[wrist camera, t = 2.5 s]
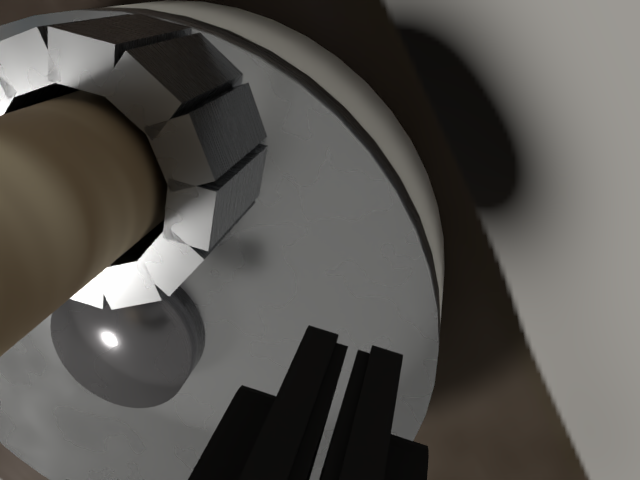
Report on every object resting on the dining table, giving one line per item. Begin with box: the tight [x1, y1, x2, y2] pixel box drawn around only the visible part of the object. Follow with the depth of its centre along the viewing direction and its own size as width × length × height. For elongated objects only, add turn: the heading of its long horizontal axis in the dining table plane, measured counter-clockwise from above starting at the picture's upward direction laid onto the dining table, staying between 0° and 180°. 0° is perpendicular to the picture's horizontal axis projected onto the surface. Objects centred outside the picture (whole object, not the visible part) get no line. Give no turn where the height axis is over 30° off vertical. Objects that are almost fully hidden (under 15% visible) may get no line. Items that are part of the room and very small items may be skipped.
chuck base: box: [111, 0, 445, 323], centre depth 24 cm, size 21×21×4 cm
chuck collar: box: [0, 7, 440, 480], centre depth 20 cm, size 21×21×6 cm
